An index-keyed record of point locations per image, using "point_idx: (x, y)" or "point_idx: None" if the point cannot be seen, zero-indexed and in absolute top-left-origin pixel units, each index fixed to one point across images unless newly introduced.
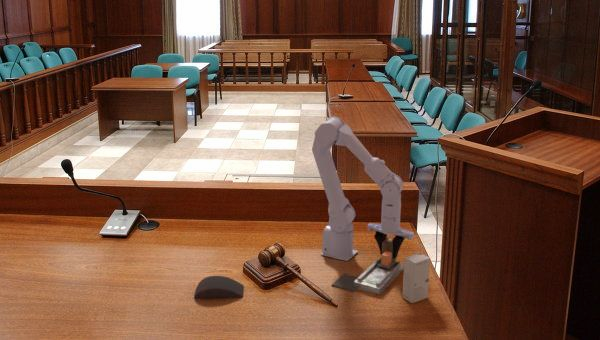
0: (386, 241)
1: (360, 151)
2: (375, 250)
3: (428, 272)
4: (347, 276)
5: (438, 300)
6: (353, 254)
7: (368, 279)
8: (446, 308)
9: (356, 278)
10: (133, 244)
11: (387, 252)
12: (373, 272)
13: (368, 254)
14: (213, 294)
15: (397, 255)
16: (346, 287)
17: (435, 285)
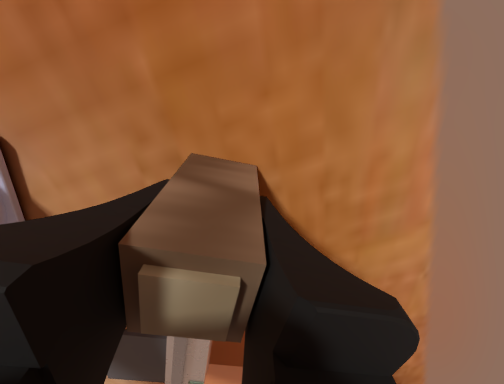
0: (165, 330)
1: None
2: (75, 48)
3: None
4: (121, 342)
5: (408, 359)
6: (5, 192)
7: (201, 380)
8: (420, 376)
9: (154, 344)
10: None
11: (226, 370)
12: (200, 349)
13: (73, 135)
14: None
15: (268, 200)
16: (153, 379)
17: (421, 306)
